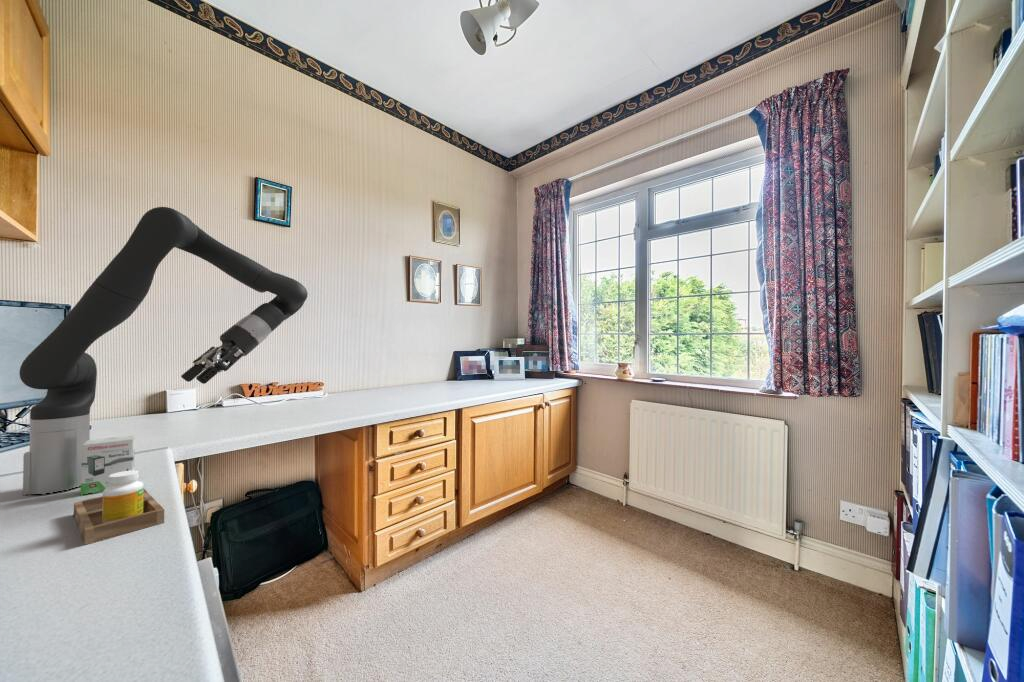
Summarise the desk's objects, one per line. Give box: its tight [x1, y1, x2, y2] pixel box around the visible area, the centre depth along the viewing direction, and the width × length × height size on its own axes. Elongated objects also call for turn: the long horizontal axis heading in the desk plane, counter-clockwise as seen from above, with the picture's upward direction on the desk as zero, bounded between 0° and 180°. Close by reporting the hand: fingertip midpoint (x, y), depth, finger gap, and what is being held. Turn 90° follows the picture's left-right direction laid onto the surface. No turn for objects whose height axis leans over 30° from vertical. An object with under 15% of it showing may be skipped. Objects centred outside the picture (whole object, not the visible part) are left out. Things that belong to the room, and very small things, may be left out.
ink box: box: [79, 435, 136, 496], centre depth 89 cm, size 9×5×12 cm, turn 133°
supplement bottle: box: [102, 469, 145, 524], centre depth 71 cm, size 5×5×10 cm
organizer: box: [73, 488, 165, 546], centre depth 73 cm, size 20×10×2 cm, turn 53°
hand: (192, 380), depth 89 cm, fingers open, 8 cm apart
